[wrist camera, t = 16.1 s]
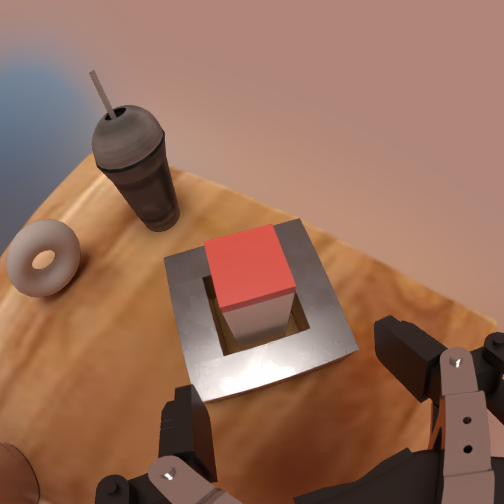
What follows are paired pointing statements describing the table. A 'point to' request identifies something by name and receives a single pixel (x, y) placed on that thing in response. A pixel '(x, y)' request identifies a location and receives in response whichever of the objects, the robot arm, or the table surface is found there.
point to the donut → (34, 242)
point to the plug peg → (252, 284)
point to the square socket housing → (268, 355)
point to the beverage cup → (136, 161)
